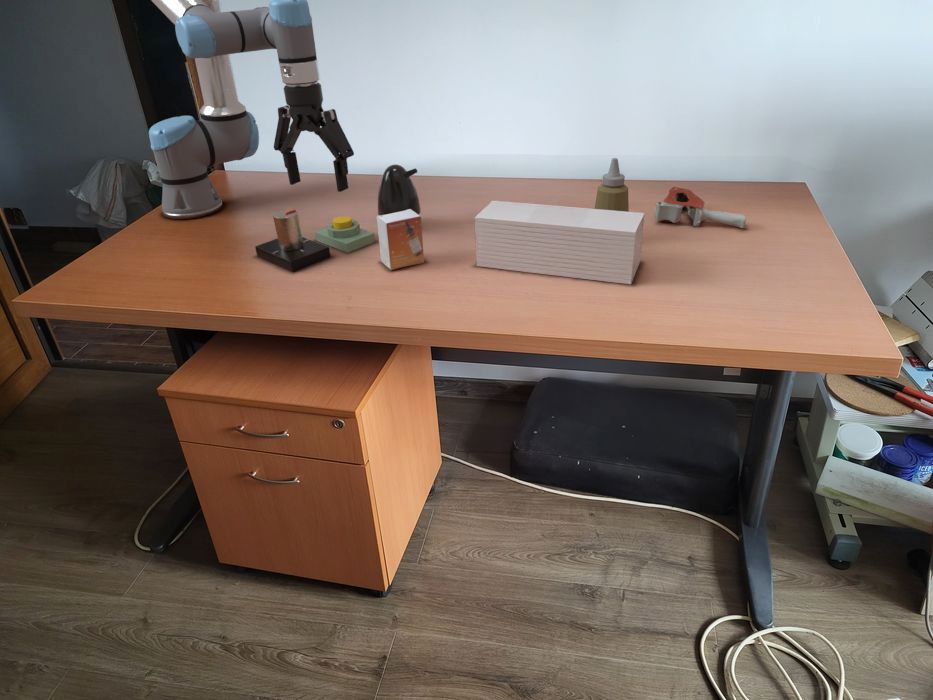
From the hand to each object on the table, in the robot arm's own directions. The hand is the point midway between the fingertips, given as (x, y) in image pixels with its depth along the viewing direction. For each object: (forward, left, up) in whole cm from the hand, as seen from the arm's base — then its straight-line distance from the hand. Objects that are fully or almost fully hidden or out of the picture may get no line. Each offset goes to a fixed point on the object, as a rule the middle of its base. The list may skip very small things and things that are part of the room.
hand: (318, 186), depth 146 cm
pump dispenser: (+5, +18, -14) cm, 24 cm away
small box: (+21, +4, -14) cm, 25 cm away
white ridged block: (+48, +23, -14) cm, 55 cm away
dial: (-1, -9, -12) cm, 14 cm away
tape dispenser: (+58, +62, -14) cm, 86 cm away
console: (-1, -9, -14) cm, 17 cm away
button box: (+1, +4, -14) cm, 15 cm away
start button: (+1, +4, -10) cm, 11 cm away
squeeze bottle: (+49, +41, -14) cm, 65 cm away
